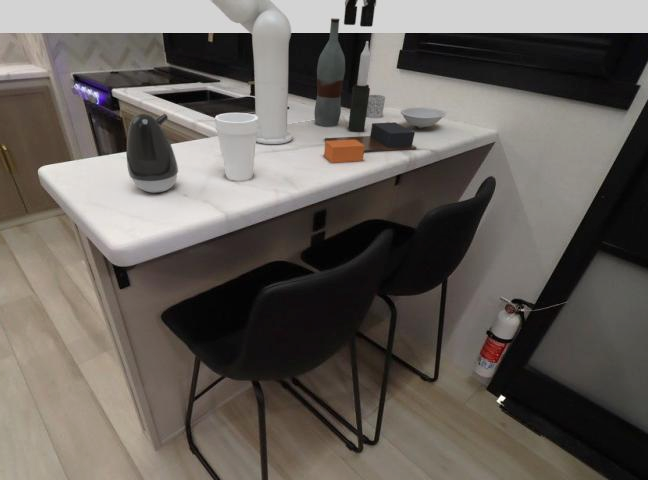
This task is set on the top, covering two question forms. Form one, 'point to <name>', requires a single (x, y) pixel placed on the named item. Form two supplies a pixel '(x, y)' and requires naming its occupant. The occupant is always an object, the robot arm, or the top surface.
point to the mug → (375, 106)
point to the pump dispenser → (150, 154)
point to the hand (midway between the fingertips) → (357, 25)
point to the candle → (360, 95)
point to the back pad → (392, 135)
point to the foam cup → (237, 143)
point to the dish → (422, 116)
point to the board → (371, 144)
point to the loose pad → (344, 151)
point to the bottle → (330, 80)
